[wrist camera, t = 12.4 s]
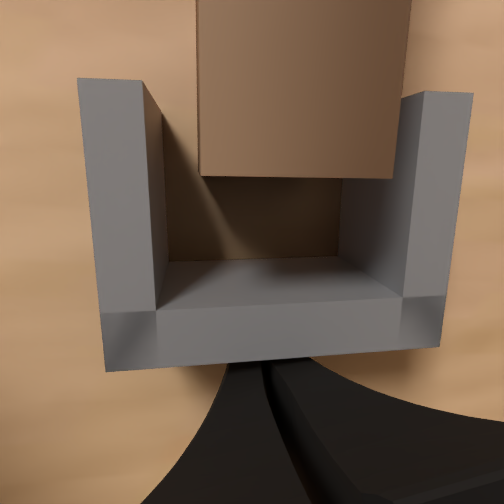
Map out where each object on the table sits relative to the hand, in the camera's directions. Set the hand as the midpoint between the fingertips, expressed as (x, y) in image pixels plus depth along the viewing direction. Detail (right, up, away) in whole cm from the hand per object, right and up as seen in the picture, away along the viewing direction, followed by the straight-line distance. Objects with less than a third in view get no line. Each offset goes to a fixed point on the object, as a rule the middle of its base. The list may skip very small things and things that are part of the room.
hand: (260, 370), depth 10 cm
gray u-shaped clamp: (0, +5, 0) cm, 5 cm away
